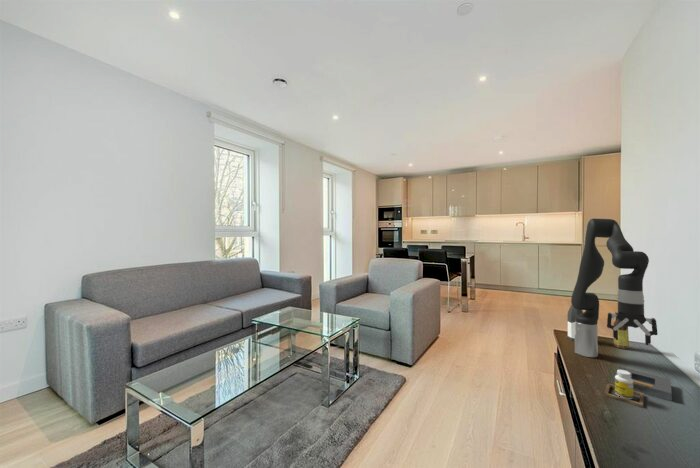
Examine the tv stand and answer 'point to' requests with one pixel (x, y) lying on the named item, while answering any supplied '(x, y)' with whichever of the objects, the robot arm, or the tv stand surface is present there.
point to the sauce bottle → (621, 336)
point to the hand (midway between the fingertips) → (631, 341)
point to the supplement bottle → (624, 384)
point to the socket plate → (650, 384)
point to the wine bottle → (572, 322)
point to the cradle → (624, 398)
